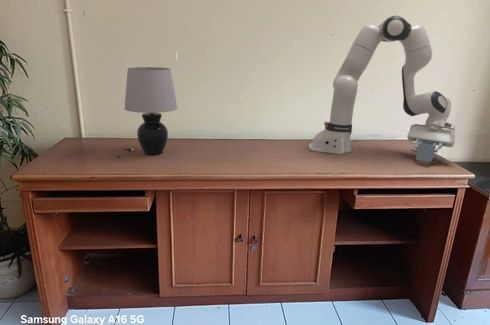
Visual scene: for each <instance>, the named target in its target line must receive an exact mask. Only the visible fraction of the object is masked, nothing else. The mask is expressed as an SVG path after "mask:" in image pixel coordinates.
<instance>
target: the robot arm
mask: <svg viewBox="0 0 490 325" xmlns="http://www.w3.org/2000/svg"><path fill="white" fill-rule="evenodd" d="M397 41H398V42H400V43H401V45H402V46H403V51H404V55H405V56H404V57H405V61H404V65H402V67H401V81H402V82H401V83H402V92H403V94H402V95H403V103H402V108H403V111H404V113H406V115H408V116H410V117H415V116H419V115H422V114H423V115H424V114H428V116H427V118H426V120H425V124H420V123H419V124H418V123H415V124H411V125H410V128H409V131H408V133H407V140H408V141H410V142H415V145H416V146H415V147H416V149H418V143H419V142H421V141H427V142H433V143H436V147H435V149H434V153H438V152H439V150H441V149H442V148H443V147H448V148H453V147H454V145H455V140H456V139H455V138H456V127H455V124H452V123H450V122H447V120H448V118H449V117H450V113H451V109H452V101H451V100H450V98H448V97H447V96H444V95H443V94H442V93H441V92H439V91H430V92H424V93H422V94H421V93H420V94H416V93H415V92H416V91H415V82H414V81H415V80H414V79H415V76H416V74H417V73H418V72H420V71H421V70H422V69H423V68H425V67H426V66H427V65H429V63H430V61H431V60H432V58H433V57H432V56H433V51H432V45H431V42H430V39H429V35H428V34H427V31H426V29H425V27H424V26H423V25H422V24H410V23H409V21H407V20H406V19H405V18H404V17H403V16H400V15H392V16H390V17H388V18H386V19H385V20H383V22H381V24H379V25H376V24H373V23H367V24H364V25H363V26H362V28H361V29H360V30H359V32H358V34H357V35H356V37H355V38H354V41H353V43H352V45H351V47H350V49H349V50H348V53H347V55H346V57H345V59H344V60H343V63H342V65H341V66H340V68H339V70H338V71H337V73H336V76H335V77H334V79H333V82H332V88H333V93H332V102H331V106H330V107H331V108H330V116H329V117H330V118H329V121H324V123H323V124H324V126H325V127H324V129H323V130H321V131H320V132H318V133H316V135H315V136H314V137H313V139H312V142H310V143H308V146H307V148H308V149H309V150H310V151H312V152H319V153H320V152H321V153H329V154H336V155H337V154H338V155H342V154H345V153H346V154H347V153H350V152H352V144H351V142H352V141H351V135H352V134H353V133H352V132H353V124H352V122H353V115H354V108H355V103H356V99H357V92H358V87H359V86H358V85H359V84H358V81H359V79H360V77H361V76H362V75H363V73H364V71H366V69H367V67H368V65H369V64H370V62H371V59H372V57H373V56H374V54H375V51H376V49H377V48H378V46H379V44H380V43H381V42H384V43H385V42H386V43H393V42H397Z"/></svg>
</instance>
